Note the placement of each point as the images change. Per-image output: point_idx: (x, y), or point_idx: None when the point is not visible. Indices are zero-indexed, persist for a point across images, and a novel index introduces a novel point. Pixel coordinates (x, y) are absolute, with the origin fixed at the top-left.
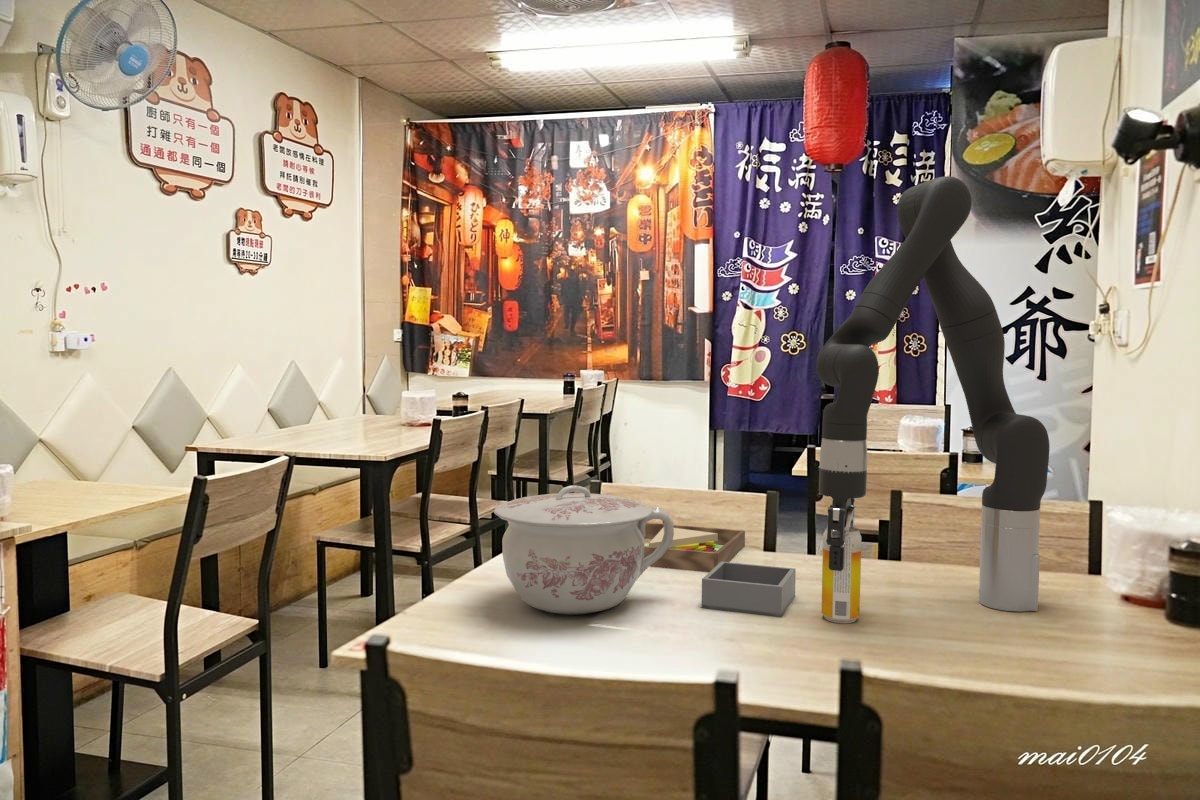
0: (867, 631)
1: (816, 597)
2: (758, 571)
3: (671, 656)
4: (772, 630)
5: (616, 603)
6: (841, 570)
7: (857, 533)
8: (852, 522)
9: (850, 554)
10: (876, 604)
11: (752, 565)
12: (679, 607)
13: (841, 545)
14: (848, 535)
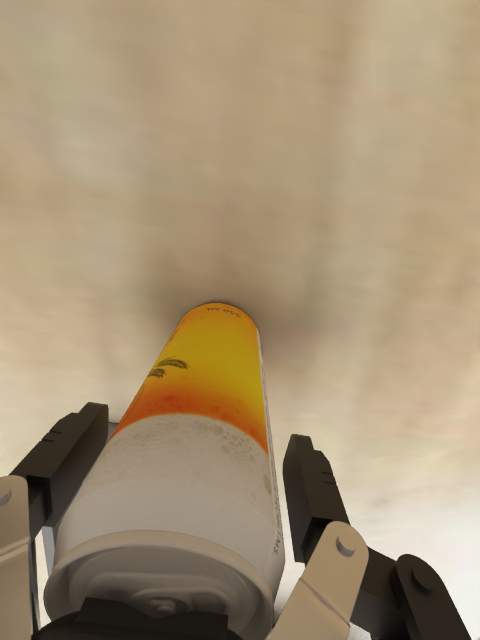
0: (304, 287)
1: (64, 378)
2: (61, 519)
3: (459, 556)
4: (323, 452)
5: (271, 632)
6: (308, 436)
7: (219, 534)
8: (30, 617)
9: (269, 453)
10: (61, 246)
11: (53, 542)
12: None
13: (426, 567)
14: (274, 569)
